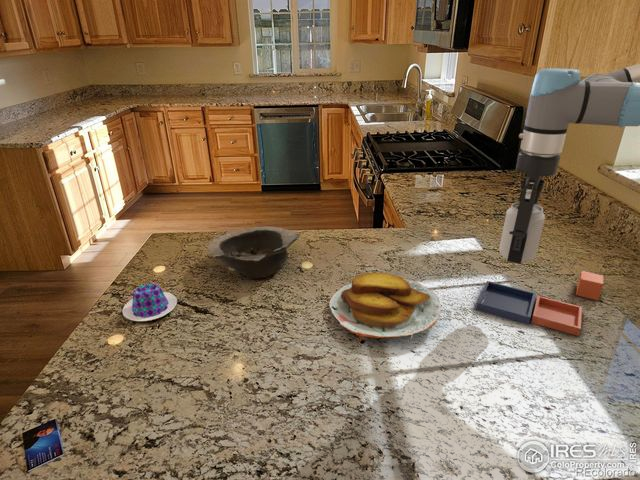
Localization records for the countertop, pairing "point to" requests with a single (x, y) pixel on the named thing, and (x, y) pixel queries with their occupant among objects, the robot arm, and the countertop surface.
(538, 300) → the terracotta tray
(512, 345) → the countertop surface
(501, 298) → the navy tray
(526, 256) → the can
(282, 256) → the stone bowl
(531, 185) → the robot arm
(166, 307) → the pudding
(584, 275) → the block
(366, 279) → the food on plate
